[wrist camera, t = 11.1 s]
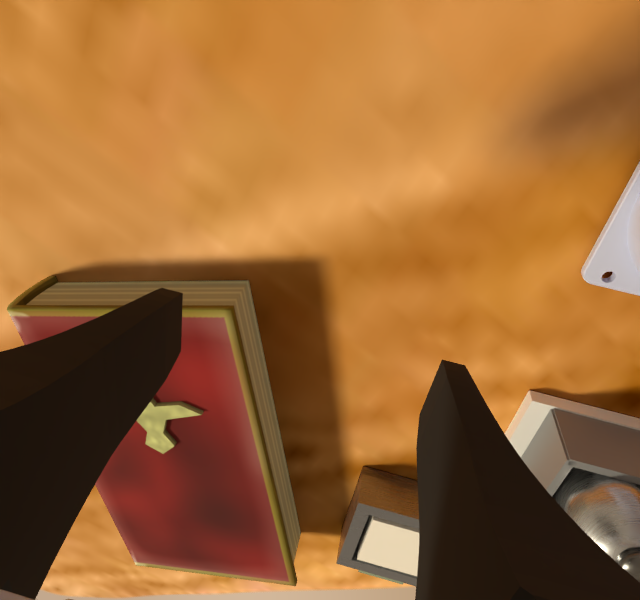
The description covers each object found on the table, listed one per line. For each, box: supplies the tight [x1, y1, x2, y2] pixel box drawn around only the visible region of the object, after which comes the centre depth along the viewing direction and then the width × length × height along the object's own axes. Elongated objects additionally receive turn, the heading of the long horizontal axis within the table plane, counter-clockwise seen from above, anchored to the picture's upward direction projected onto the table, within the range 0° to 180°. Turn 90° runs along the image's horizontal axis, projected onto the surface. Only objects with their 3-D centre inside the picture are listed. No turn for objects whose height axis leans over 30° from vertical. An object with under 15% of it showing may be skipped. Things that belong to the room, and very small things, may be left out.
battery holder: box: [505, 390, 640, 501], centre depth 25 cm, size 7×11×4 cm, turn 169°
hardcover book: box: [7, 276, 301, 586], centre depth 29 cm, size 12×21×4 cm, turn 6°
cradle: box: [337, 466, 419, 586], centre depth 30 cm, size 6×8×3 cm
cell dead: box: [553, 467, 640, 582], centre depth 22 cm, size 4×4×6 cm
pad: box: [357, 515, 419, 576], centre depth 29 cm, size 4×4×1 cm
